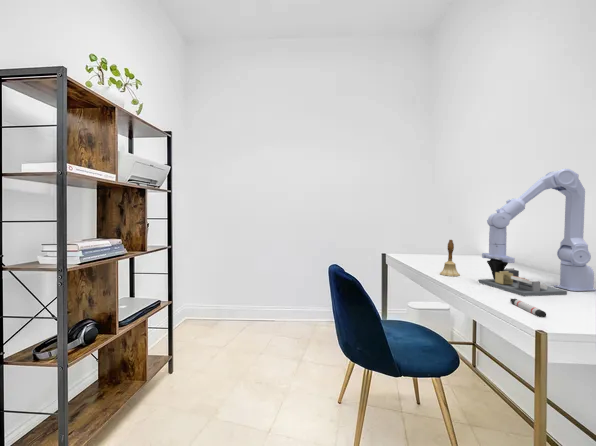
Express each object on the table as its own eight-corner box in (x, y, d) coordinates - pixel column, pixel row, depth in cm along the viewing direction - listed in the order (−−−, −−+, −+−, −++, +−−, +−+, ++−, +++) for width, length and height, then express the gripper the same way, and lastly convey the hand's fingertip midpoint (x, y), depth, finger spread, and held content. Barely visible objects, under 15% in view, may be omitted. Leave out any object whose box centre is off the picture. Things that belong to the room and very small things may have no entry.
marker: (546, 318, 87) (546, 311, 87) (538, 318, 87) (538, 310, 87) (513, 302, 102) (513, 296, 102) (507, 302, 102) (507, 296, 102)
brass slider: (504, 282, 124) (504, 270, 124) (512, 284, 120) (513, 271, 120) (495, 282, 124) (495, 270, 123) (503, 284, 120) (503, 272, 119)
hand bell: (448, 272, 153) (449, 238, 152) (464, 275, 145) (464, 240, 145) (435, 273, 149) (436, 239, 149) (451, 277, 142) (451, 240, 141)
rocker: (533, 286, 117) (534, 283, 117) (546, 289, 111) (548, 286, 111) (510, 278, 115) (511, 275, 115) (522, 281, 110) (523, 278, 110)
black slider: (510, 278, 130) (510, 267, 130) (518, 280, 126) (518, 269, 126) (501, 279, 130) (501, 267, 129) (509, 281, 126) (509, 269, 126)
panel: (515, 281, 133) (515, 270, 133) (566, 294, 111) (567, 281, 111) (478, 282, 130) (478, 271, 130) (523, 296, 109) (524, 282, 109)
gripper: (475, 242, 132) (474, 275, 132) (502, 246, 117) (501, 283, 118) (491, 242, 133) (490, 275, 133) (520, 245, 118) (519, 282, 119)
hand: (497, 279), depth 125 cm, fingers closed
